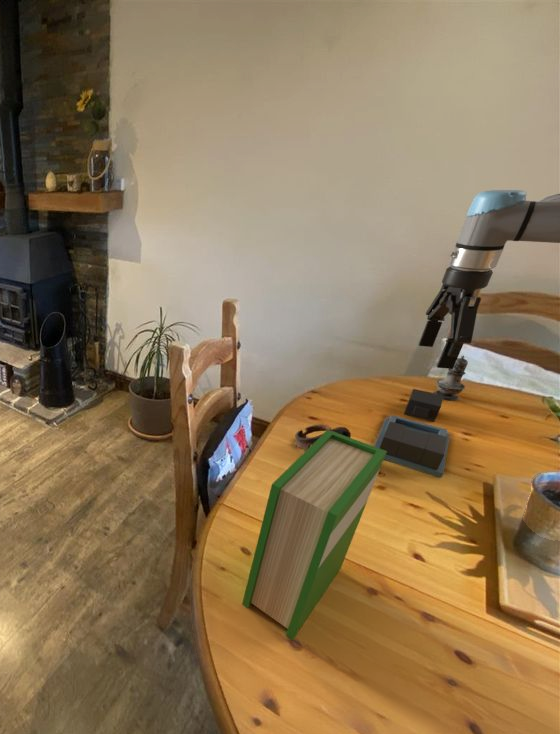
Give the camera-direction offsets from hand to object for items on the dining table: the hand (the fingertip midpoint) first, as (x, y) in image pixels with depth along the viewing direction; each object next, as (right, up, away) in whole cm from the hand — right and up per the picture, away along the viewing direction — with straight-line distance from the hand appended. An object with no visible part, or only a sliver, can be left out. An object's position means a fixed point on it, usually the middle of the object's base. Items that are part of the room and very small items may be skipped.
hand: (434, 356), depth 101 cm
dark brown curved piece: (-32, -23, -6) cm, 40 cm away
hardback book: (-55, -39, -35) cm, 76 cm away
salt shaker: (+14, -10, +12) cm, 21 cm away
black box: (+2, -14, +6) cm, 15 cm away
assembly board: (-11, -21, -6) cm, 25 cm away
